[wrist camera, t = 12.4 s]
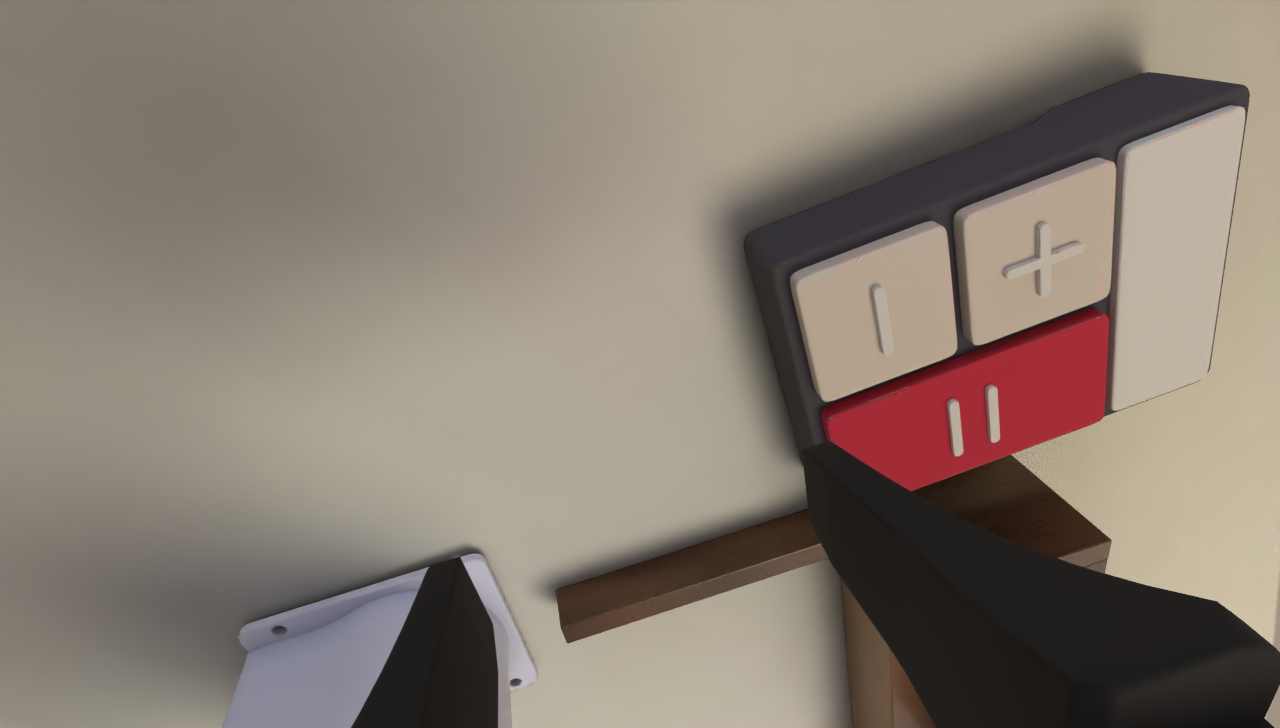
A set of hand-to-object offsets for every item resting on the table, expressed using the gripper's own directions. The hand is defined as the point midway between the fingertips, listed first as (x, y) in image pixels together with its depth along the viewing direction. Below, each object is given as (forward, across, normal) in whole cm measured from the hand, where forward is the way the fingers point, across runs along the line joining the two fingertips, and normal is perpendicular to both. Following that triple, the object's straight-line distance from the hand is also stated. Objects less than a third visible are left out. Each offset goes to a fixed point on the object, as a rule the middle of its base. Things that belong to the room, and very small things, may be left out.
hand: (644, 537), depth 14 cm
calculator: (+11, -14, +3) cm, 18 cm away
